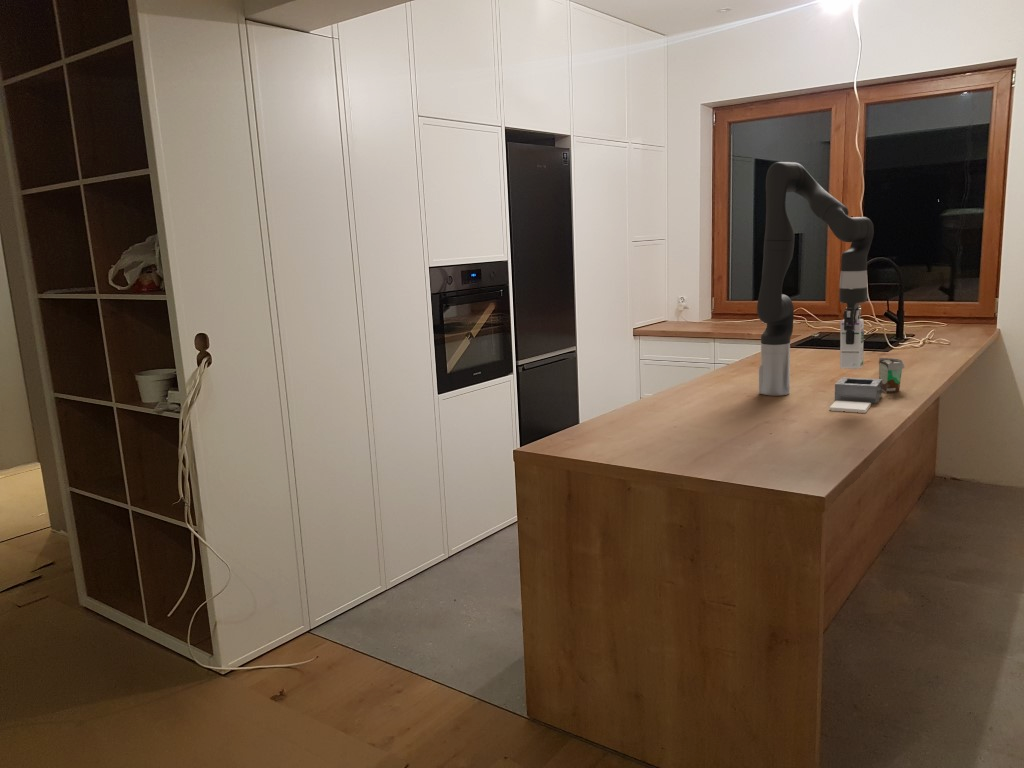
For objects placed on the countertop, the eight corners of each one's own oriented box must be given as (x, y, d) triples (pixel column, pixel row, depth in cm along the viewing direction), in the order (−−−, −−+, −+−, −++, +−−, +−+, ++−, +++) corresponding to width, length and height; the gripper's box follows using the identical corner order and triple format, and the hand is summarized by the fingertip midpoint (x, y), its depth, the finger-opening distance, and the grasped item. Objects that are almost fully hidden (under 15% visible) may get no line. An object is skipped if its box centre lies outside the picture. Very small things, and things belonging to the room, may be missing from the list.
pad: (829, 410, 231) (829, 407, 230) (835, 403, 239) (835, 400, 239) (865, 413, 225) (865, 409, 225) (870, 405, 233) (870, 402, 233)
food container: (908, 394, 246) (909, 363, 244) (887, 394, 247) (888, 364, 245) (897, 386, 258) (898, 357, 256) (877, 386, 259) (878, 357, 257)
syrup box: (860, 369, 226) (862, 320, 223) (839, 368, 229) (840, 320, 226) (863, 366, 230) (864, 318, 228) (842, 365, 234) (843, 318, 231)
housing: (834, 401, 242) (835, 384, 241) (841, 393, 252) (842, 377, 251) (875, 403, 236) (876, 386, 235) (881, 395, 245) (882, 379, 244)
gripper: (844, 284, 233) (842, 339, 236) (835, 288, 221) (833, 345, 224) (871, 284, 229) (869, 339, 232) (863, 288, 217) (861, 346, 220)
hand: (851, 342), depth 228 cm, fingers closed on syrup box, 5 cm apart
